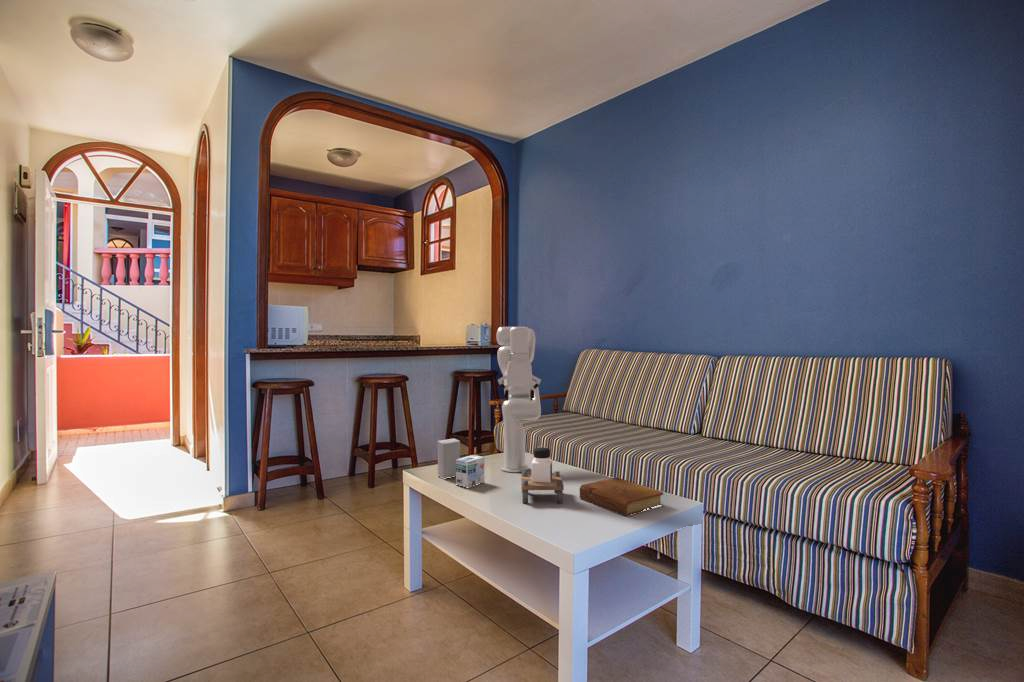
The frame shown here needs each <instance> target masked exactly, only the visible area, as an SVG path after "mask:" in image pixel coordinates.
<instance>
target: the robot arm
mask: <svg viewBox="0 0 1024 682" xmlns="http://www.w3.org/2000/svg"><path fill="white" fill-rule="evenodd" d="M495 335H496V337H495V338H496V342H497V344H498V345H499V346H501V347H499V348H498V349H497V352H496V353H497V355H496V356H497V363H498V366H499V369H500V371H501V374H502V377H500V378H498V379H497V382H498V384H499V386H500V388H502V389H503V391H504V393H503V394H504V399H506V400H504V401H503V403H502V405H501V411H502V412H501V413H502V420H503V464H502V465H501V466H500V470H502V471H503V472H507V473H522V472H523V471H526V472H528V470H529V465H527V464H526V430H525V427H524V426H523V425H522V424H521V422H520V421H536V420H538V419H540V417H541V414H542V408H541V398H540V390H539V385H540V384H541V382H542V379H541V378H539V377H537V376H535V375H534V374H533V370H532V369H533V368H532V362H533V360H534V358H535V350H536V349H535V348H536V340H537V339H536V333H535V331H534V329H532V328H529V327H528V326H500V327H498V329H497V331H496V334H495Z"/></svg>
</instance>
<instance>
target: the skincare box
mask: <svg viewBox="0 0 1024 682" xmlns="http://www.w3.org/2000/svg"><path fill="white" fill-rule="evenodd" d="M460 458H461V441H460V440H459V439H456V438H449V439H448V438H447V439H443V440H442V439H441V440H437V475H438V474H439V475H440V476H441V477H443V478H446V477H453V476H456V459H460Z"/></svg>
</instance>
